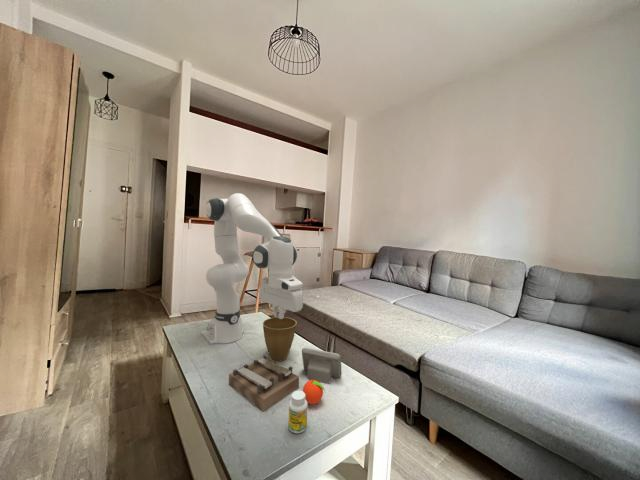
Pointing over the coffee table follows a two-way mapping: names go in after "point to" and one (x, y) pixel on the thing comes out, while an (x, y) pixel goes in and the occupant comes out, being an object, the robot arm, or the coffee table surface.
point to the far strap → (274, 366)
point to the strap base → (256, 392)
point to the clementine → (313, 391)
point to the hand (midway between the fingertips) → (279, 317)
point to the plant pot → (279, 337)
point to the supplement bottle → (298, 412)
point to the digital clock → (321, 364)
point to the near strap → (254, 377)
